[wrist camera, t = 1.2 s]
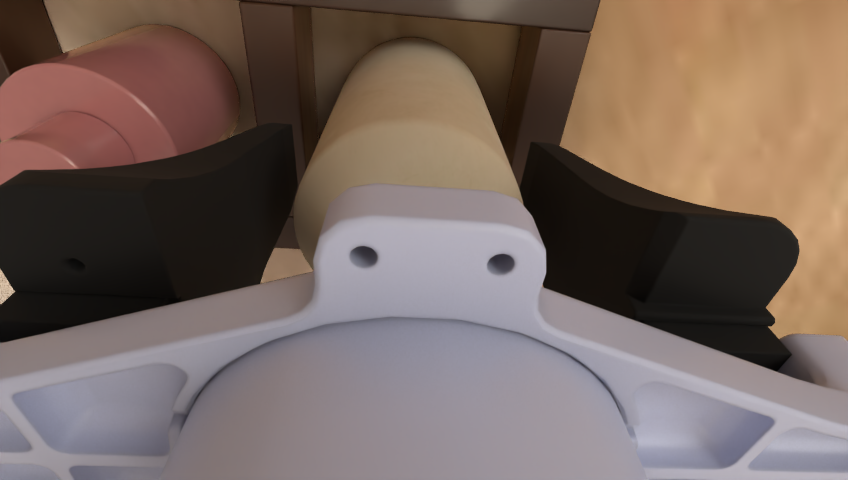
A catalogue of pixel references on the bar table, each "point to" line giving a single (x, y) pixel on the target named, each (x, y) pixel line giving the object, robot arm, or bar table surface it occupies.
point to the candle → (402, 133)
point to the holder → (291, 18)
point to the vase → (116, 103)
